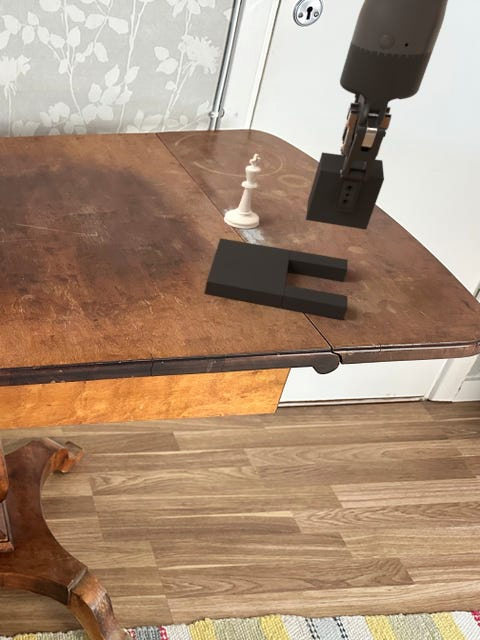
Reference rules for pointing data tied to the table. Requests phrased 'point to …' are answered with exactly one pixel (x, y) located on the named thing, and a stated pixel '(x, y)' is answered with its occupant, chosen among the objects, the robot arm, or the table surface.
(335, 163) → the pad piece
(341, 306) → the base pad
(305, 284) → the table surface
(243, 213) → the chess piece
